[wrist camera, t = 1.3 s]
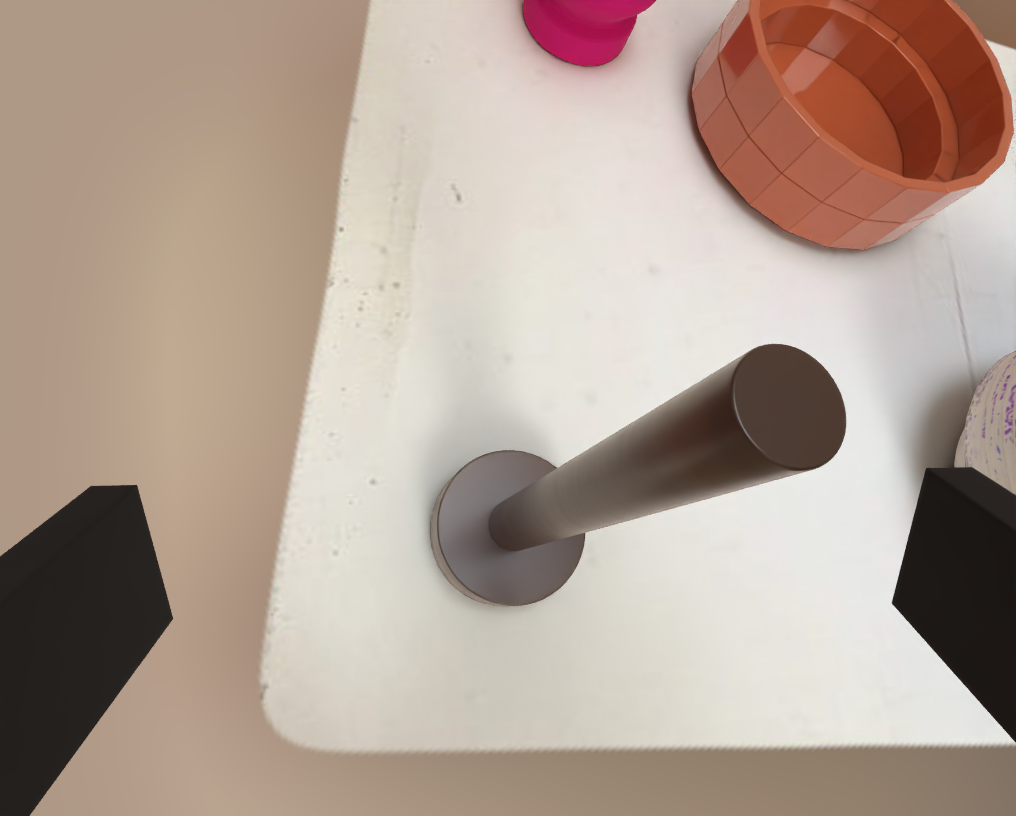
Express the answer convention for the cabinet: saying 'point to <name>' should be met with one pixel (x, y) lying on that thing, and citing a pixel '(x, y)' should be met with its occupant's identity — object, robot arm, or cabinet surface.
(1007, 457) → the paper bowls
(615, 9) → the pepper mill
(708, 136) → the bowl
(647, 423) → the dowel on disc base
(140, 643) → the robot arm
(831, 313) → the cabinet surface
